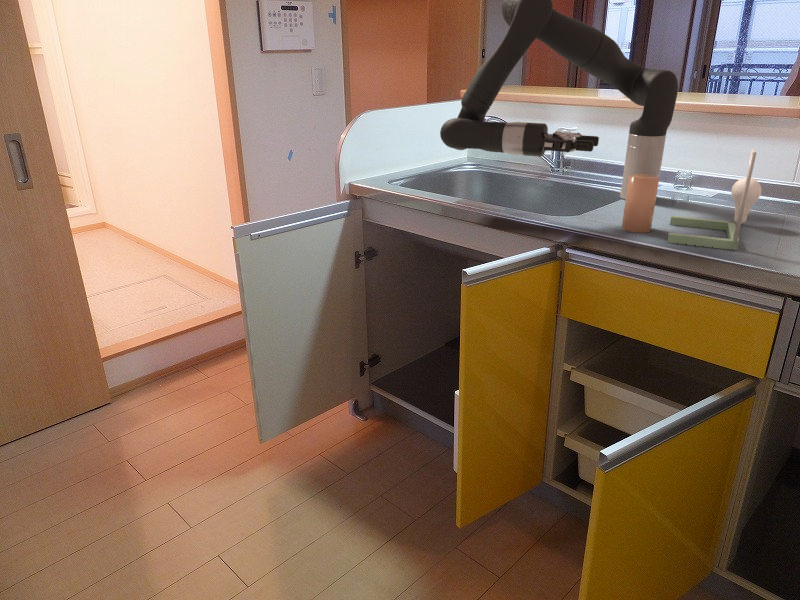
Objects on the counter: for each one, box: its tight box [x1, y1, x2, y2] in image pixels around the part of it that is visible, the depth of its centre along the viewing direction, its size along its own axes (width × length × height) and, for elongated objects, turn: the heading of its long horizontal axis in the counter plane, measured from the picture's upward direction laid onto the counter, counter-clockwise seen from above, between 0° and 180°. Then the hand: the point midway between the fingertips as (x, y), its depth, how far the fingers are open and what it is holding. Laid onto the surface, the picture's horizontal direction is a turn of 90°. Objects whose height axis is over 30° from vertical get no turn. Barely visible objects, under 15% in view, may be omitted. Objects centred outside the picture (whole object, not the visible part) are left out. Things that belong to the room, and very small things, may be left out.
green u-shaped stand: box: [667, 148, 757, 251], centre depth 135 cm, size 17×14×20 cm
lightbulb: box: [730, 177, 762, 225], centre depth 146 cm, size 6×6×11 cm
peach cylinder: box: [621, 174, 660, 234], centre depth 142 cm, size 6×6×12 cm
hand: (595, 143), depth 141 cm, fingers open, 8 cm apart
